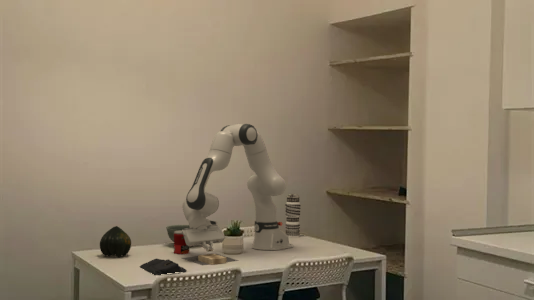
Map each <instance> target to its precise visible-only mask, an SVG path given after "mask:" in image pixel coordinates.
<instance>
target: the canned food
mask: <svg viewBox="0 0 534 300" xmlns="http://www.w3.org/2000/svg"><path fill="white" fill-rule="evenodd" d="M173 253H174V254H176V255H187V254H190V246H188V245H186V242H185V239H184V235H183V233H182V231H175V232H174V242H173Z"/></svg>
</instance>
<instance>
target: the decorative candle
mask: <svg viewBox="0 0 534 300" xmlns="http://www.w3.org/2000/svg"><path fill="white" fill-rule="evenodd" d="M284 206H286V207H285V217H286V221H285V232H284V233H285V234H287V236H288V238H300V234H301V233H300V232H301V231H300V228H301V227H300V226H301V224H300V217H301V216H300V215H301V203H300V195H299V194H298V193H288V195H287V196H286V203H285V205H284Z"/></svg>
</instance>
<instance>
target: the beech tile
mask: <svg viewBox="0 0 534 300" xmlns="http://www.w3.org/2000/svg"><path fill="white" fill-rule="evenodd" d="M216 254H217V253H207V254H199V255H197V256H198V261H201V262H205V263H208V264H210V265H212V266H215V265H221V264H227V263H228V262H227V258H226V257H227V256H225V257H223V256H224V255H222V256H220V255H221V254H219V255H216Z"/></svg>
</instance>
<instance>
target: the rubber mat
mask: <svg viewBox="0 0 534 300" xmlns="http://www.w3.org/2000/svg"><path fill="white" fill-rule="evenodd" d="M215 254H216V255H220V256H223V257H226V258H227V262H226V263H231V262H232V263H233V262H238V261H240V260H238V259H235V258H232V257H228V256H226V255H221V254H218V253H215ZM181 259H183V260H185V261H189V262H192V263H195V264H198V265H200V266H207V265H211V264H208V263H205V262H201V261H198V255H197V256H196V255H195V256H187V257H181Z"/></svg>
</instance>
